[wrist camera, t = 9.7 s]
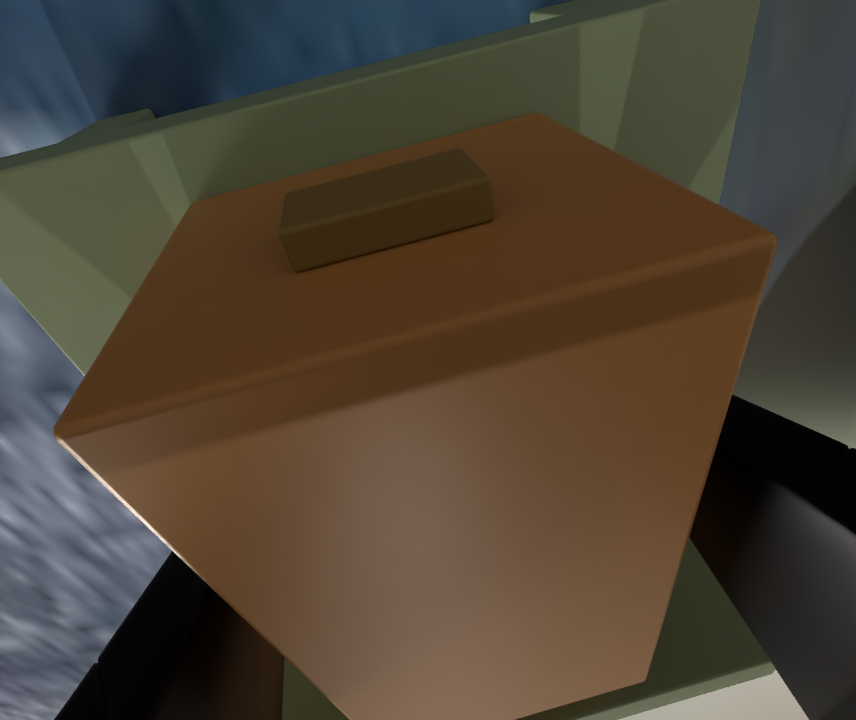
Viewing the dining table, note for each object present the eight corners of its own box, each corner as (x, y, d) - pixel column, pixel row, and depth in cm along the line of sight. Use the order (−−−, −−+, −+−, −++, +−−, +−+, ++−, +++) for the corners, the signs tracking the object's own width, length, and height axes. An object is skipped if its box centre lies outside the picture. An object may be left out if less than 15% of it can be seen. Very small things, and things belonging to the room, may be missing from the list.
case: (554, 488, 12) (648, 682, 9) (367, 541, 12) (386, 758, 9) (539, 76, 6) (807, 173, 3) (173, 171, 6) (-9, 389, 3)
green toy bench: (78, 112, 10) (-666, 472, 2) (591, -17, 10) (1358, -56, 3) (293, 469, 17) (276, 820, 10) (582, 390, 17) (773, 673, 10)
